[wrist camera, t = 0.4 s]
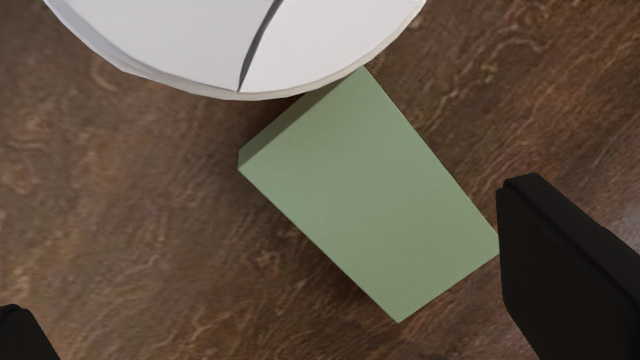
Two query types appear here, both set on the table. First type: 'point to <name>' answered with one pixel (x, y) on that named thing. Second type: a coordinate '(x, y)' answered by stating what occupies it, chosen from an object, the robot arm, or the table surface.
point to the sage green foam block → (369, 194)
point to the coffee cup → (238, 40)
